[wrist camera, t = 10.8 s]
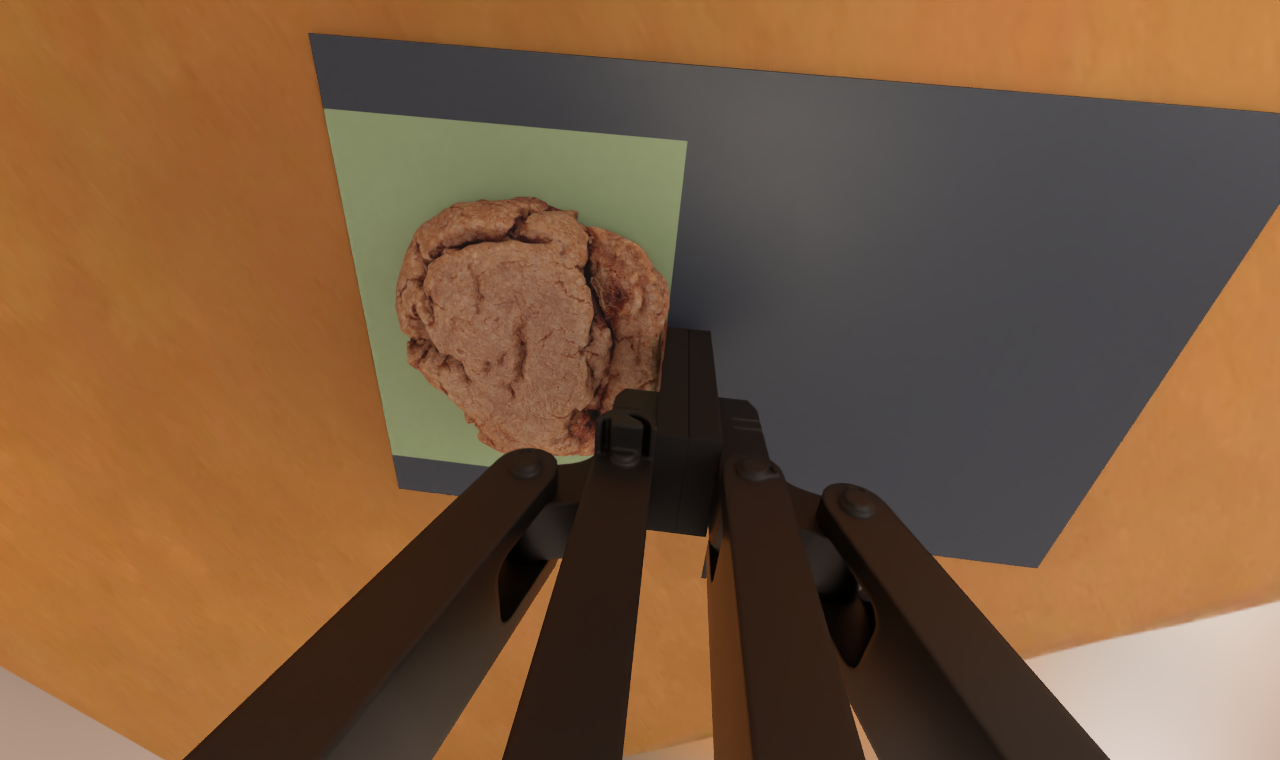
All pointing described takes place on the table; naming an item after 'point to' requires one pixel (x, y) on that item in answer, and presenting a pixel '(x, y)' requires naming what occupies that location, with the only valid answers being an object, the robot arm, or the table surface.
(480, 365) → the cookie
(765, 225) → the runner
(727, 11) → the table surface
